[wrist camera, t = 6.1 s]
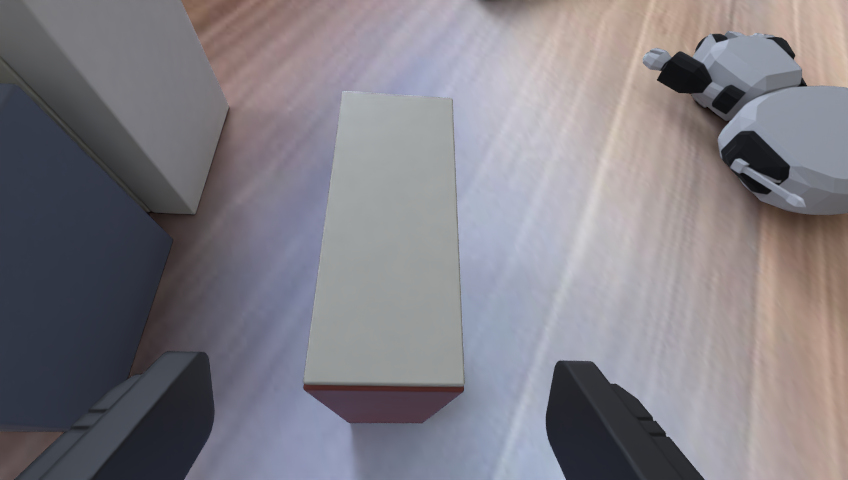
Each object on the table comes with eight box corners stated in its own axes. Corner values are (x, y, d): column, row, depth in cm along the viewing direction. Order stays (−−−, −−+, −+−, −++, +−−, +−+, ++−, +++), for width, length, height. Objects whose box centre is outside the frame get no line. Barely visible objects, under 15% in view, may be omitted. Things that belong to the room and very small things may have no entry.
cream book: (348, 423, 17) (300, 389, 8) (362, 254, 21) (341, 90, 12) (422, 423, 18) (466, 390, 8) (423, 257, 21) (453, 97, 12)
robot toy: (612, 86, 30) (751, 253, 23) (644, 28, 26) (823, 206, 19) (740, 64, 33) (902, 208, 25) (786, 8, 29) (992, 158, 22)
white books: (51, 209, 21) (-430, -138, 9) (107, 98, 25) (-171, -254, 12) (195, 215, 22) (-62, -103, 9) (229, 106, 25) (79, -225, 13)
